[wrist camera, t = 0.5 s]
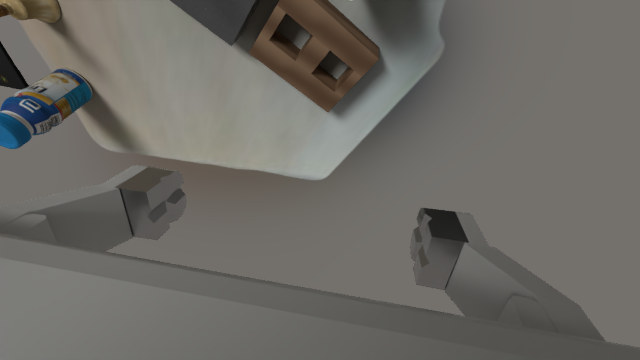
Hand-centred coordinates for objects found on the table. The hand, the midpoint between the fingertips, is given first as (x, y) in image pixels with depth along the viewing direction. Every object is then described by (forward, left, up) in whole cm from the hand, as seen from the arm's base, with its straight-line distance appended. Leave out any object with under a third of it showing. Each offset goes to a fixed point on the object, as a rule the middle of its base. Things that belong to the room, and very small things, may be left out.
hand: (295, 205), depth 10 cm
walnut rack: (+15, +3, -49) cm, 52 cm away
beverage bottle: (+59, -35, -50) cm, 85 cm away
